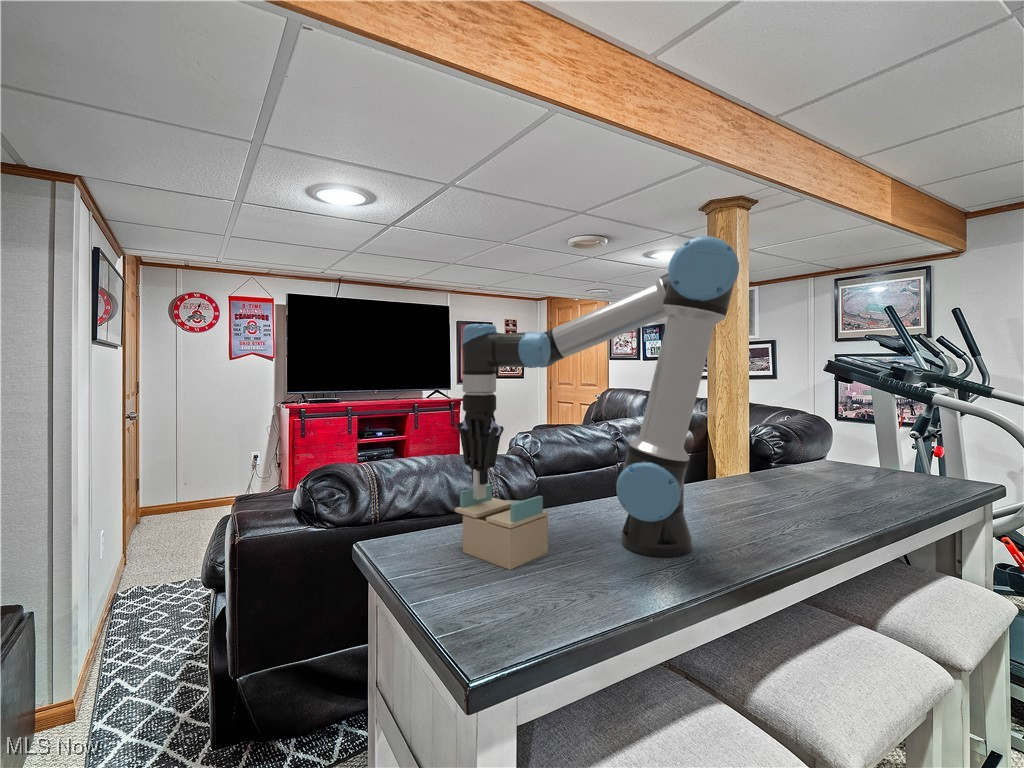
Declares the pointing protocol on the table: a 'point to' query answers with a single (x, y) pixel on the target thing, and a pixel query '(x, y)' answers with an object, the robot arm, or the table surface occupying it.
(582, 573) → the table surface
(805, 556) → the table surface
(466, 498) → the lid
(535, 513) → the lid near
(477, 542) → the carton
